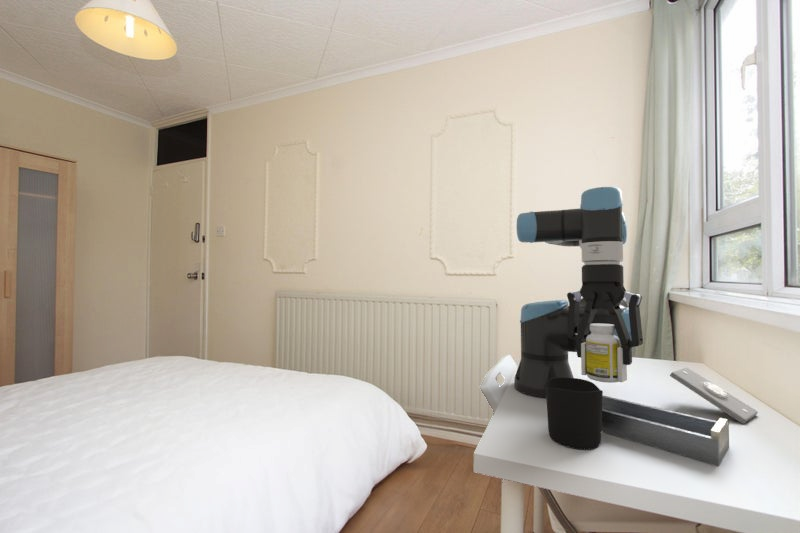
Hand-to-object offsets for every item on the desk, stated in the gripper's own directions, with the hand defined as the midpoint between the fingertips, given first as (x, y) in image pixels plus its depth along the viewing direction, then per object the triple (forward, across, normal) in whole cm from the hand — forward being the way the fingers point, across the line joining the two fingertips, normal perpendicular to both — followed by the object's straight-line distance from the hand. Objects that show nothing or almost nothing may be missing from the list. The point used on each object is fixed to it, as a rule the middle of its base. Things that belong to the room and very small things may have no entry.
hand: (603, 377), depth 75 cm
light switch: (+10, +13, +26) cm, 30 cm away
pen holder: (+10, -1, -12) cm, 15 cm away
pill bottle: (+1, 0, 0) cm, 1 cm away
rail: (+9, +8, 0) cm, 12 cm away
